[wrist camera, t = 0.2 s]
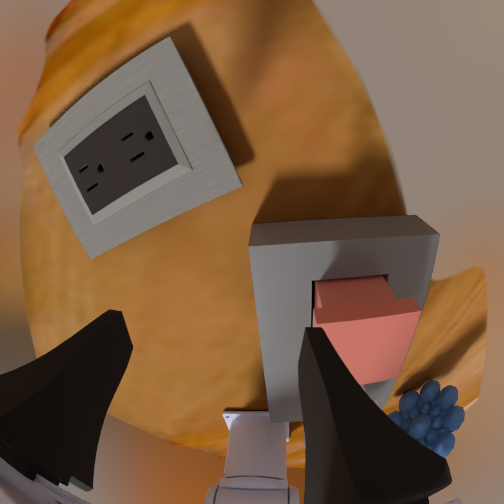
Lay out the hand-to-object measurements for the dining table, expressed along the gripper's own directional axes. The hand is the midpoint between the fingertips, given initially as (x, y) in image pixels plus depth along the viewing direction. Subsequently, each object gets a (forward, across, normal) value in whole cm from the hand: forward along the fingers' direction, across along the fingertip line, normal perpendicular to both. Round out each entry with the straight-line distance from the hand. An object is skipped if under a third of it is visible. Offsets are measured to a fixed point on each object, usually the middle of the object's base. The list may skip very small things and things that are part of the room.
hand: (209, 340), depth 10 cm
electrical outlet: (+10, +8, -6) cm, 14 cm away
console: (+10, -8, +8) cm, 15 cm away
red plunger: (+7, -8, +3) cm, 11 cm away
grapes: (+10, -22, +20) cm, 32 cm away
